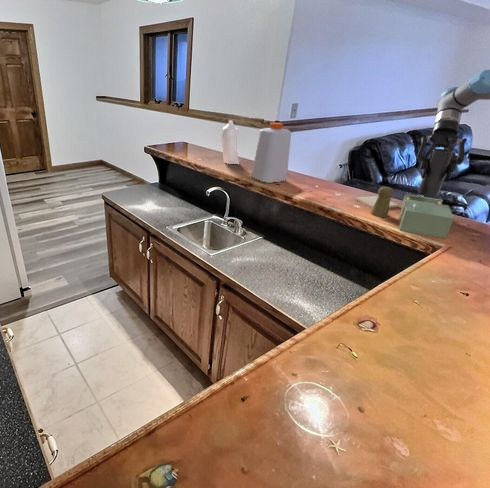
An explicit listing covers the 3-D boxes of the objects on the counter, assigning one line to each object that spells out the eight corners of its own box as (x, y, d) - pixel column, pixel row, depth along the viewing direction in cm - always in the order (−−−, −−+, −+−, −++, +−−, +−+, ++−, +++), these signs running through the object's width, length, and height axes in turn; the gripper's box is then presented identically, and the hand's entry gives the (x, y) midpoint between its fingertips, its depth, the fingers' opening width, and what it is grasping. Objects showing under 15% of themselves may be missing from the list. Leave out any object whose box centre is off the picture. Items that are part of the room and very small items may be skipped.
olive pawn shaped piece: (371, 210, 143) (378, 184, 138) (387, 213, 140) (396, 186, 135) (370, 215, 138) (377, 188, 133) (387, 218, 136) (396, 190, 131)
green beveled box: (398, 217, 137) (405, 198, 133) (441, 224, 130) (448, 205, 127) (399, 230, 125) (406, 210, 122) (445, 238, 119) (454, 218, 116)
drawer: (400, 204, 147) (405, 191, 144) (436, 210, 142) (441, 196, 139) (401, 218, 133) (406, 203, 131) (440, 225, 128) (446, 210, 125)
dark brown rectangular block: (442, 195, 130) (459, 151, 123) (427, 196, 129) (443, 152, 122) (428, 190, 136) (443, 148, 129) (413, 191, 135) (428, 148, 128)
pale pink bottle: (231, 166, 206) (235, 122, 195) (216, 163, 212) (220, 120, 201) (242, 163, 213) (246, 120, 202) (227, 160, 220) (231, 118, 209)
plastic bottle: (289, 181, 179) (299, 124, 166) (265, 184, 174) (273, 126, 161) (271, 174, 191) (279, 120, 179) (248, 176, 186) (254, 121, 174)
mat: (398, 207, 147) (399, 205, 146) (373, 208, 145) (373, 206, 144) (378, 198, 157) (379, 195, 157) (354, 199, 155) (355, 197, 155)
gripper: (474, 134, 131) (464, 187, 125) (413, 129, 140) (401, 179, 134) (483, 120, 124) (473, 175, 119) (418, 117, 133) (406, 168, 128)
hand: (435, 177), depth 127 cm, fingers closed on dark brown rectangular block, 6 cm apart
